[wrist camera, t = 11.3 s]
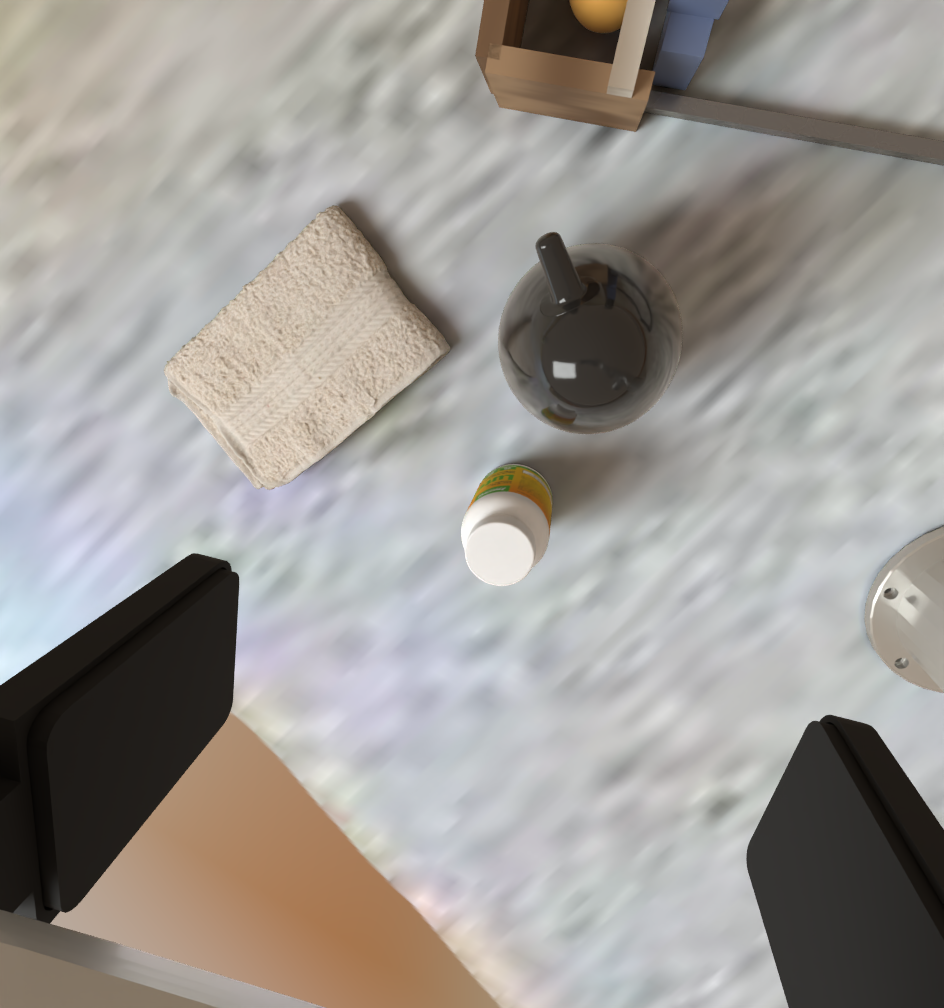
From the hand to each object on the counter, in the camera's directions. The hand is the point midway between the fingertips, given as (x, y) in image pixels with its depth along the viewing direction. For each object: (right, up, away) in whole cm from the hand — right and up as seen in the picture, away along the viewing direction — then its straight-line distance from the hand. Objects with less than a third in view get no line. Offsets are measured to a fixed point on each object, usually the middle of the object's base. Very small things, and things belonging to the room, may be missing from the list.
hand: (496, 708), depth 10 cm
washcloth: (-12, +14, +33) cm, 37 cm away
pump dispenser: (+7, +14, +29) cm, 33 cm away
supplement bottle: (+3, +4, +33) cm, 33 cm away
